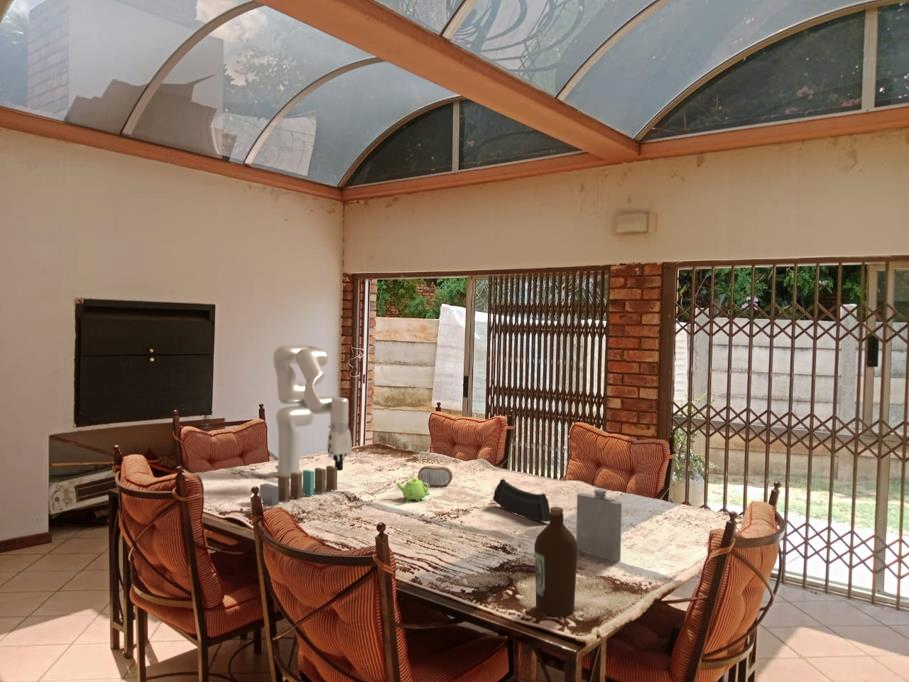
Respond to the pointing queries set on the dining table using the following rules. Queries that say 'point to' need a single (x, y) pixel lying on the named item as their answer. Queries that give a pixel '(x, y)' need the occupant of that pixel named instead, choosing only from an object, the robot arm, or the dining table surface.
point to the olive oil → (555, 567)
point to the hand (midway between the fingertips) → (338, 469)
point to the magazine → (522, 502)
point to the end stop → (269, 494)
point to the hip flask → (599, 525)
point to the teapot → (414, 489)
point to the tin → (435, 475)
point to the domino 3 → (308, 482)
